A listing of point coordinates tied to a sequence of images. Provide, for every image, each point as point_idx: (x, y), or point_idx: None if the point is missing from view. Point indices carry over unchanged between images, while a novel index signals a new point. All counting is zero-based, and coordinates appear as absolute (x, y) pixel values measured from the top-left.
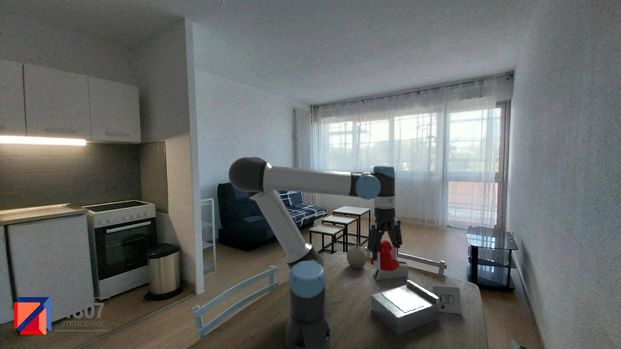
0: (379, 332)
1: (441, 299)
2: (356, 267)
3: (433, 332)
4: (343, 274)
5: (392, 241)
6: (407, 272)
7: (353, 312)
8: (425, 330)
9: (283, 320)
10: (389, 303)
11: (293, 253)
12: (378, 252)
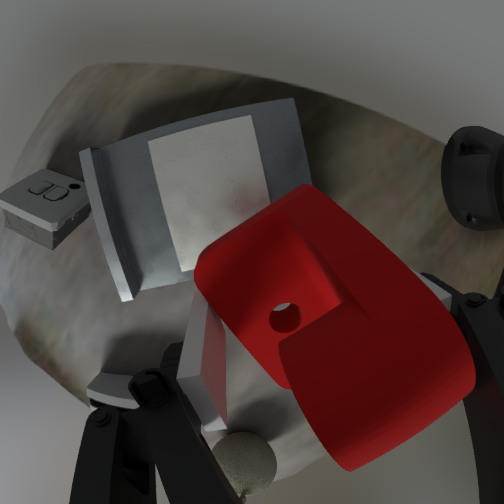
0: (329, 134)
1: (63, 194)
2: (251, 433)
3: (166, 102)
4: (300, 414)
5: (216, 464)
6: (97, 378)
7: None
8: (184, 112)
9: (493, 243)
10: (280, 179)
11: None
12: (446, 301)
